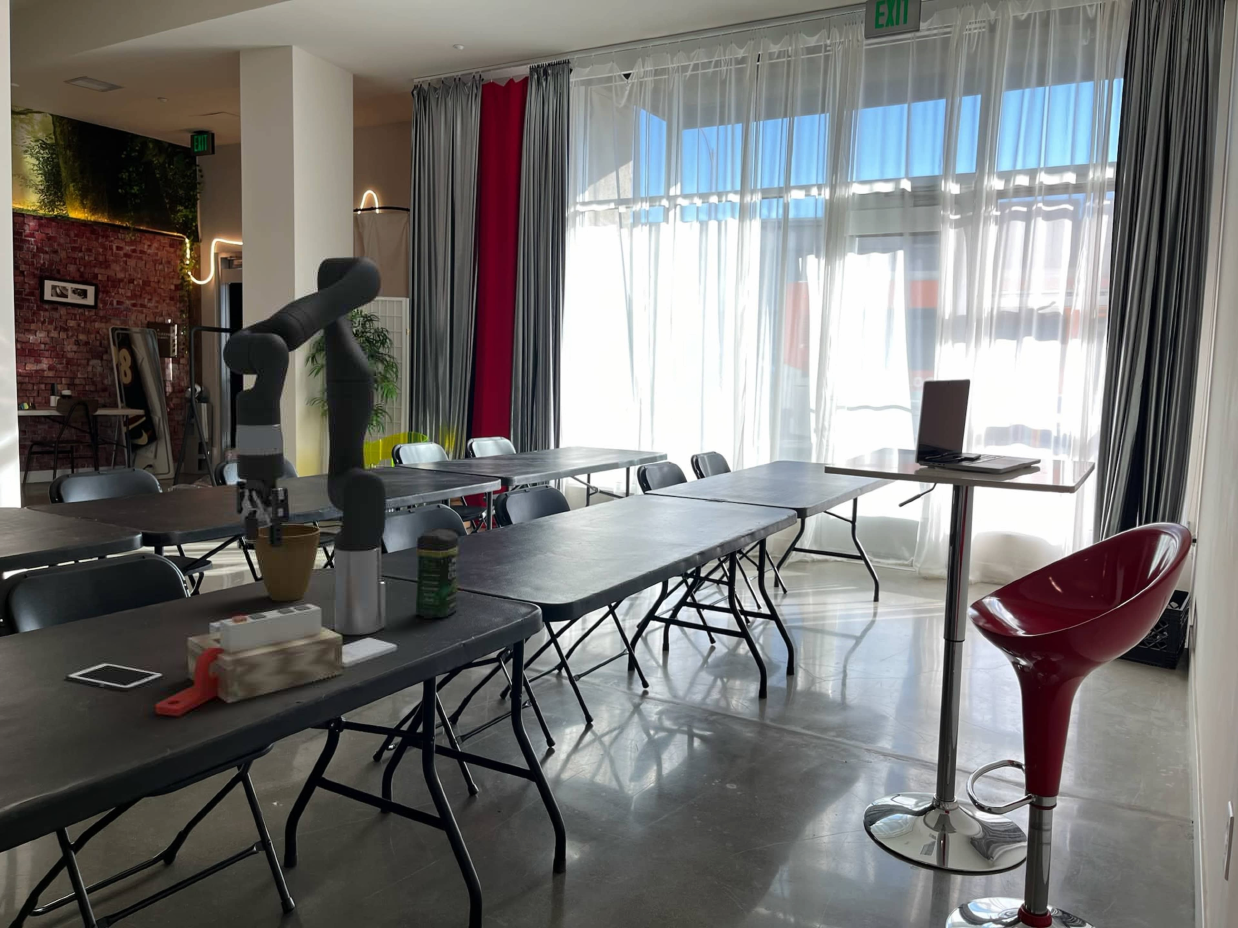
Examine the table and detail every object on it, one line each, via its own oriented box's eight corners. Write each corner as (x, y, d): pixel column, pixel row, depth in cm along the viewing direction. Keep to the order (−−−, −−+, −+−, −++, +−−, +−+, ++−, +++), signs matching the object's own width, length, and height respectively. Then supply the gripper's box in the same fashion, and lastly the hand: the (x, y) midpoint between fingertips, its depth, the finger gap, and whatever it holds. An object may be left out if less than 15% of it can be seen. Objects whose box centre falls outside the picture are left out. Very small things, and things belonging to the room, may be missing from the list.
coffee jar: (444, 620, 190) (444, 535, 188) (410, 617, 191) (410, 533, 190) (463, 609, 199) (463, 528, 197) (431, 606, 201) (431, 525, 199)
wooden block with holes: (298, 652, 166) (298, 616, 166) (342, 673, 155) (342, 635, 155) (188, 677, 152) (187, 637, 151) (228, 702, 141) (227, 660, 140)
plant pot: (240, 597, 204) (239, 529, 203) (299, 586, 216) (299, 521, 214) (273, 609, 195) (272, 538, 193) (333, 597, 206) (333, 530, 204)
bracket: (204, 686, 147) (203, 640, 147) (228, 689, 146) (227, 642, 146) (152, 712, 136) (150, 663, 135) (178, 716, 135) (176, 665, 134)
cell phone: (104, 667, 157) (104, 661, 157) (166, 679, 152) (166, 673, 152) (63, 680, 150) (63, 675, 150) (127, 694, 145) (127, 688, 144)
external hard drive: (396, 652, 170) (345, 670, 159) (367, 644, 174) (315, 661, 163) (397, 644, 169) (345, 661, 159) (367, 636, 174) (315, 652, 163)
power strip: (310, 649, 159) (310, 601, 158) (321, 655, 156) (321, 605, 155) (220, 670, 147) (219, 617, 146) (231, 676, 144) (229, 622, 144)
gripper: (301, 452, 149) (304, 546, 151) (261, 446, 159) (264, 534, 161) (258, 455, 144) (262, 553, 146) (219, 449, 153) (223, 540, 155)
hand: (263, 543), depth 153 cm, fingers open, 8 cm apart
